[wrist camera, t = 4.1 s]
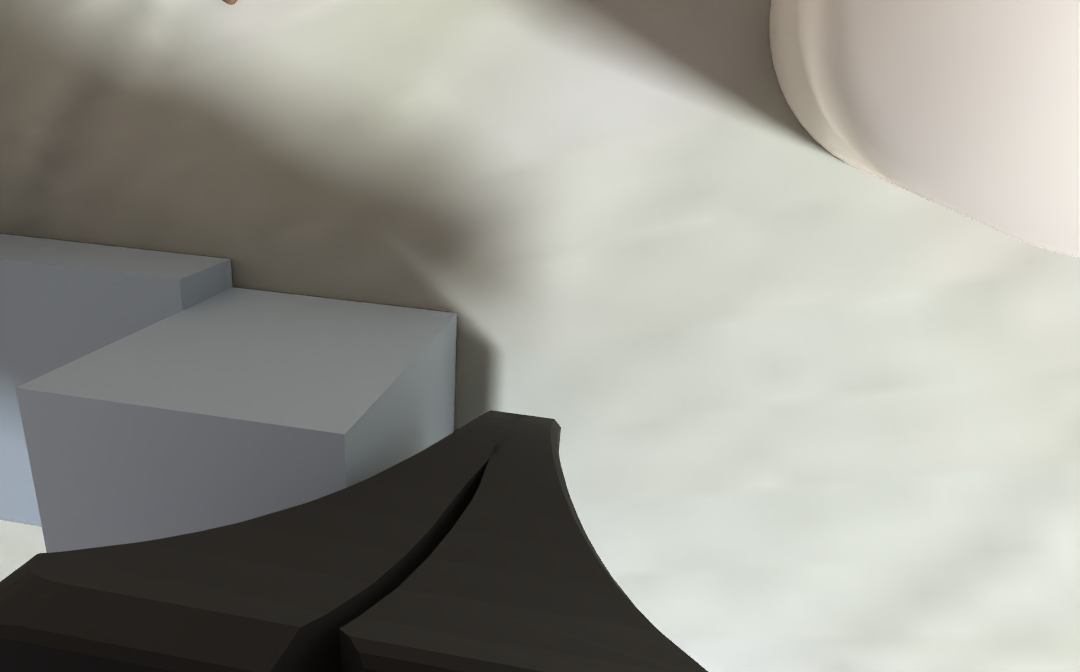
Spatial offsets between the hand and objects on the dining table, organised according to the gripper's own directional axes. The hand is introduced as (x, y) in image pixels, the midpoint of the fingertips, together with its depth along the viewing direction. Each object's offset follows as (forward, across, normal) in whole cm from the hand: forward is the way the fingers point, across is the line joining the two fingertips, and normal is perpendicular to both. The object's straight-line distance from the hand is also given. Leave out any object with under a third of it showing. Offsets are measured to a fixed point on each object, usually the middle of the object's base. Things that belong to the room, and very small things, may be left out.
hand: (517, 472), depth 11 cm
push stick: (+1, +9, 0) cm, 10 cm away
